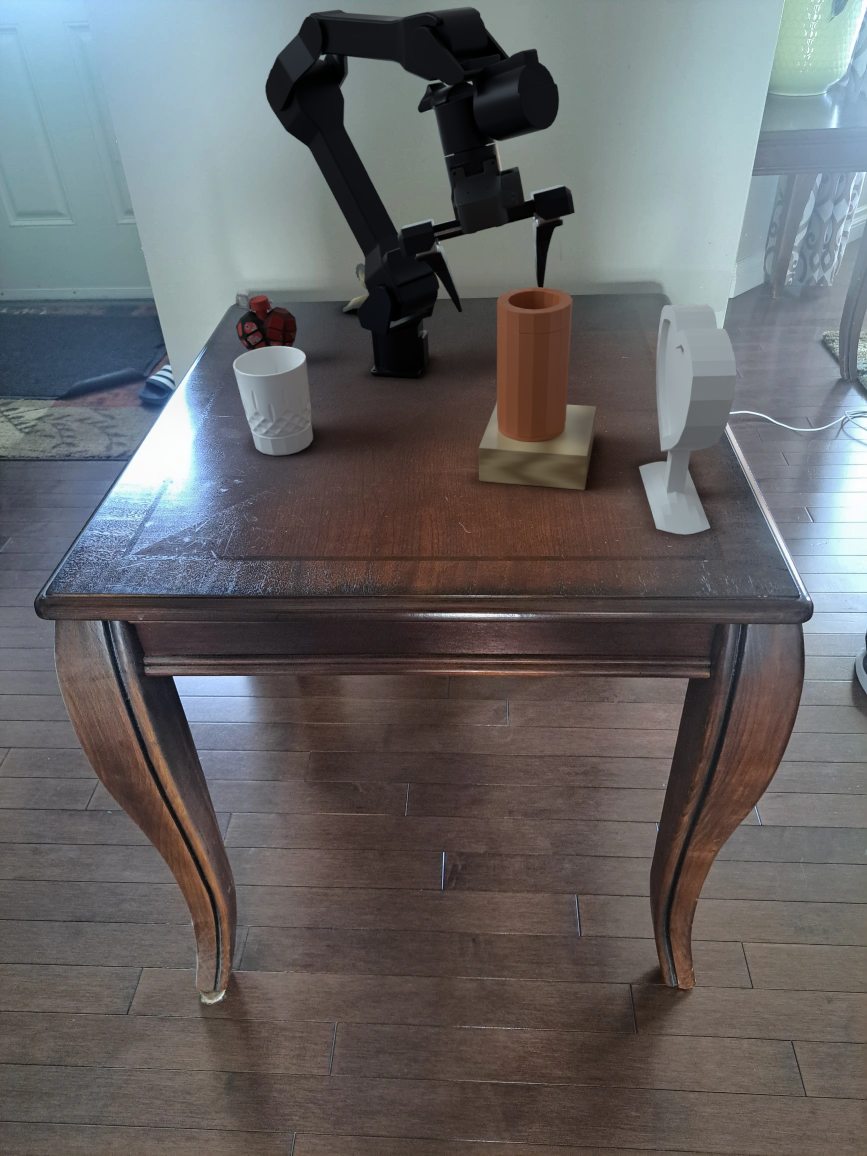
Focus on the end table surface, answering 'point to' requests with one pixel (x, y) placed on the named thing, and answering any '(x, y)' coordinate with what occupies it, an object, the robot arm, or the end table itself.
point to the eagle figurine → (360, 274)
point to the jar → (533, 362)
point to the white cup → (276, 398)
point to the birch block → (540, 454)
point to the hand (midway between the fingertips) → (500, 301)
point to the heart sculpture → (687, 410)
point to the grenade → (264, 323)
